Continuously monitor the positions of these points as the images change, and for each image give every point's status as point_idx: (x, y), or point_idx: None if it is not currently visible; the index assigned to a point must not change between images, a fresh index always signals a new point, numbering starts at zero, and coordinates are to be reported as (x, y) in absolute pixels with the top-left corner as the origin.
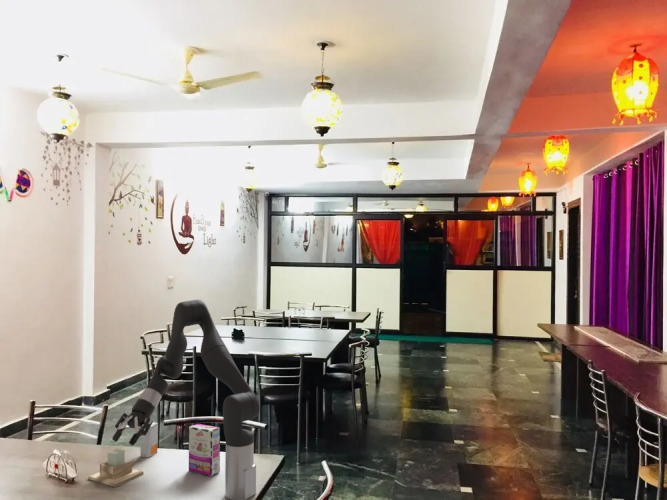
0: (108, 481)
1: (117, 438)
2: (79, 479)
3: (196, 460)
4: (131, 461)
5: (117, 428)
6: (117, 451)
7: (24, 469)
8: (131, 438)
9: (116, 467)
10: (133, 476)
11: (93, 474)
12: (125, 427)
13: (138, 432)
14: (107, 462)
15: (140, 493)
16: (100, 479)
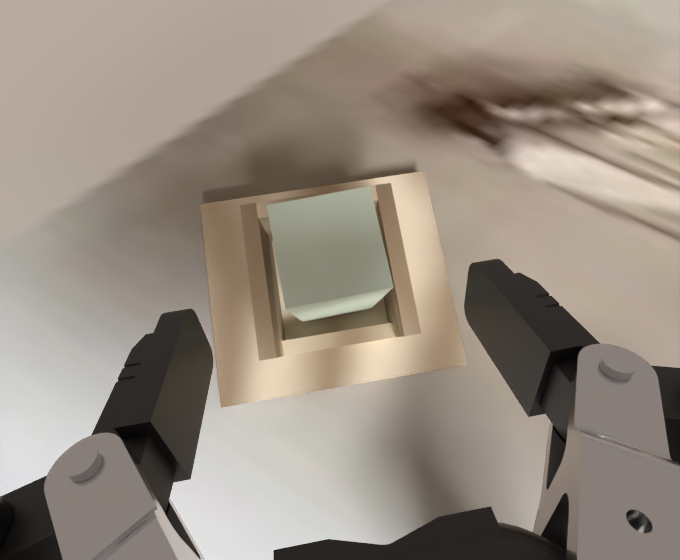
0: (266, 199)
1: (481, 323)
2: (453, 151)
3: None
4: (258, 352)
5: (620, 352)
6: (315, 250)
7: None
8: (169, 348)
9: (243, 219)
10: (213, 327)
11: (426, 200)
12: (554, 486)
13: (63, 480)
14: (385, 234)
15: (25, 244)
16: (327, 187)
